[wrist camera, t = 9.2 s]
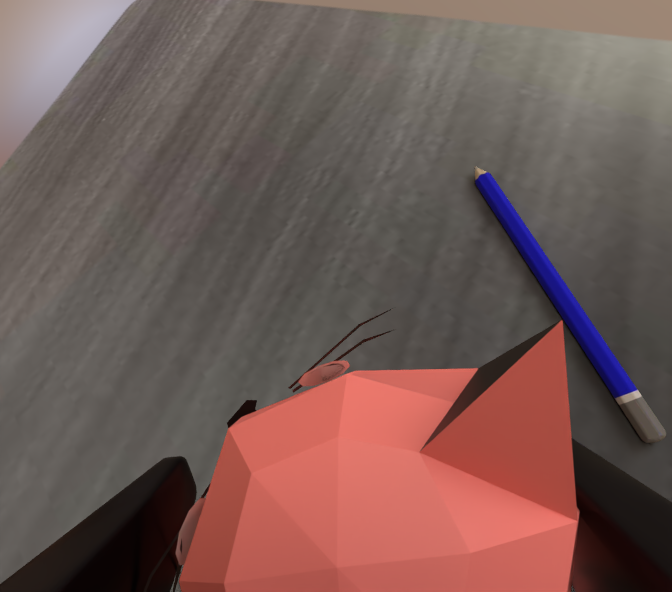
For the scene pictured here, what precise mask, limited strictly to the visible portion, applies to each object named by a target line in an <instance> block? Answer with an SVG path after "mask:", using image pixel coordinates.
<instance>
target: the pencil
mask: <svg viewBox="0 0 672 592" xmlns="http://www.w3.org/2000/svg"><path fill="white" fill-rule="evenodd" d="M474 169H475V184H476V185H477V187H478V188H479V190H480V192H481V193H482V195H483V196H484V198H485V199H486V201H487V202H488V204H489V205H490V207H491V208H492V210H493V212H494V213H495V215H496V216H497V218H498V219H499V221H500V222H501V224H502V225H503V227H504V228H505V230H506V232H507V233H508V235H509V236H510V238H511V239H512V241H513V242H514V244H515V245H516V247H517V248H518V250H519V252H520V253H521V255H522V256H523V258H524V259H525V261H526V262H527V264H528V265H529V267H530V269H531V270H532V272H533V273H534V275H535V276H536V278H537V279H538V281H539V282H540V284H541V285H542V287H543V289H544V290H545V292H546V293H547V295H548V296H549V298H550V299H551V301H552V302H553V304H554V305H555V307H556V309H557V310H558V312H559V313H560V315H561V316H562V318H563V319H564V321H565V322H566V324H567V325H568V327H569V329H570V330H571V332H572V333H573V335H574V336H575V338H576V339H577V341H578V342H579V344H580V345H581V347H582V349H583V350H584V352H585V353H586V355H587V356H588V358H589V359H590V361H591V362H592V364H593V365H594V367H595V369H596V370H597V372H598V373H599V375H600V376H601V378H602V379H603V381H604V382H605V384H606V385H607V387H608V389H609V390H610V392H611V393H612V395H613V396H614V398H615V400H616V401H617V403H618V404H619V406H620V407H621V409H622V410H623V412H624V413H625V415H626V416H627V418H628V419H629V421H630V422H631V424H632V426H633V427H634V429H635V430H636V432H637V433H638V435H639V436H640V438H641V439H642V440H643V441H644V442H647V443H655V442H658V441H661V440H662V439H664V438H665V437H666V431H665V430H664V428H663V427H662V425H661V424H660V422H659V421H658V419H657V418H656V416H655V415H654V413H653V412H652V410H651V409H650V408H649V406H648V405H647V403H646V402H645V400H644V399H643V397H642V396H641V394H640V393H639V391H638V390H637V388H636V387H635V385H634V384H633V383H632V381H631V380H630V378H629V377H628V375H627V374H626V372H625V371H624V369H623V368H622V366H621V365H620V363H619V362H618V360H617V359H616V358H615V356H614V355H613V353H612V352H611V350H610V349H609V347H608V346H607V344H606V343H605V341H604V340H603V338H602V337H601V335H600V334H599V333H598V331H597V330H596V328H595V327H594V325H593V324H592V322H591V321H590V319H589V318H588V316H587V315H586V313H585V312H584V310H583V309H582V308H581V306H580V305H579V303H578V302H577V300H576V299H575V297H574V296H573V294H572V293H571V291H570V290H569V288H568V287H567V286H566V284H565V283H564V281H563V280H562V278H561V277H560V275H559V274H558V272H557V271H556V269H555V268H554V266H553V265H552V263H551V262H550V261H549V259H548V258H547V256H546V255H545V253H544V252H543V250H542V249H541V247H540V246H539V244H538V243H537V241H536V240H535V238H534V237H533V236H532V234H531V233H530V231H529V230H528V228H527V227H526V225H525V224H524V222H523V221H522V219H521V218H520V216H519V215H518V213H517V212H516V211H515V209H514V208H513V206H512V205H511V203H510V202H509V200H508V199H507V197H506V196H505V194H504V193H503V191H502V190H501V189H500V187H499V186H498V184H497V183H496V181H495V180H494V178H493V177H492V175H491V174H490V173H488V172H486V171H483V170H481V169H479V168H477V167H476V166H475V167H474Z"/></svg>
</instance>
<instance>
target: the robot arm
mask: <svg viewBox="0 0 672 592" xmlns="http://www.w3.org/2000/svg"><path fill="white" fill-rule="evenodd" d="M571 439H572V438H571ZM572 452H573V465H574V478H575V491H576V505H577V508H578V509H579V511H580V512H579V522H578V531H577V541H576V550H575V559H574V568H573V577H572V585H573V587H574V590H575V592H672V502H670V501H669V500H667V499H666V498H664V497H663V496H661V495H659V494H658V493H656V492H655V491H653V490H652V489H650V488H649V487H647V486H645V485H644V484H642V483H641V482H639V481H638V480H636V479H634V478H633V477H631V476H630V475H628V474H627V473H625V472H624V471H622V470H620V469H619V468H617V467H616V466H614V465H613V464H611V463H610V462H608V461H606V460H605V459H603V458H602V457H600V456H599V455H597V454H596V453H594V452H592V451H591V450H589V449H588V448H586V447H585V446H583V445H582V444H580V443H578V442H577V441H575V440H574V439H572ZM195 499H196V484H195V481H194V479H193V476H192V473H191V471H190V468H189V465H188V462H187V460H186V459H185V458H184V457H181V456H178V457H168V458H164V459H162V460H161V461H160V462H158V463H157V464H156V465H154V466H153V467H152V468H151V469H149V470H148V471H147V472H145V473H144V474H143V475H142V476H140V477H139V478H138V479H136V480H135V481H134V482H132V483H131V484H130V485H129V486H127V487H126V488H125V489H123V490H122V491H121V492H119V493H118V494H117V495H116V496H114V497H113V498H112V499H110V500H109V501H108V502H106V503H105V504H104V505H103V506H101V507H100V508H99V509H97V510H96V511H95V512H93V513H92V514H91V515H90V516H88V517H87V518H86V519H84V520H83V521H82V522H80V523H79V524H78V525H77V526H75V527H74V528H73V529H71V530H70V531H69V532H67V533H66V534H65V535H64V536H62V537H61V538H60V539H58V540H57V541H56V542H54V543H53V544H52V545H51V546H49V547H48V548H47V549H45V550H44V551H43V552H41V553H40V554H39V555H38V556H36V557H35V558H34V559H32V560H31V561H30V562H28V563H27V564H26V565H25V566H23V567H22V568H21V569H19V570H18V571H17V572H15V573H14V574H13V575H12V576H10V577H9V578H8V579H6V580H5V581H4V582H3V583H1V584H0V592H144V589H145V586H146V583H147V581H148V578H149V576H150V574H151V573H152V571H153V570H154V568H155V567H156V565H157V564H158V562H159V561H160V559H161V557H162V556H163V554H164V553H165V551H166V550H167V548H168V547H169V545H170V544H171V542H172V541H173V539H174V538H175V536H176V535H177V533H178V532H179V530H180V529H181V527H182V525H183V523H184V521H185V518H186V516H187V514H188V512H189V510H190V509H191V508H192V507H193V506H194V503H195ZM178 537H179V536H178ZM177 543H178V538H177V539H176V541H175V542H174V544H173V545H172V547H171V548H170V550H169V551H168V553H167V555H166V556H165V558H164V559H163V561H162V562H161V564H160V565H159V567H158V568H157V570H156V571H155V573H154V574H153V576H152V578H151V581H150V583H149V585H148V588H147V590H146V592H170V590H171V587H172V584H173V581H174V578H175V575H176V572H177V568H178V565H179V562H178V559H177V556H176V549H177Z"/></svg>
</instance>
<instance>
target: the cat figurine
mask: <svg viewBox="0 0 672 592" xmlns="http://www.w3.org/2000/svg"><path fill="white" fill-rule="evenodd" d="M388 311H389V310H388ZM388 311H386V312H388ZM386 312H384V313H386ZM384 313H382V314H384ZM382 314H380V315H382ZM380 315H378V316H380ZM378 316H376V317H378ZM376 317H374V318H376ZM374 318H372V319H374ZM372 319H369V320H367V321H365V322H363V323H361V324H359V325H358V326H357V327H356V328H354V329H353V330H352V331H351V332H350V333H349V334H348V335H347V336H346V337H344V338H343V339H342V340H341V341H340V342H339V343H338V344H337V345H336V346H334V347H333V348H332V349H331V350H330V351H329V352H328V353H327V354H325V355H324V356H323V357H322V358H321V359H320V360H319V361H318V362H317V363H315V364H314V365H313V366H312V367H311V368H310V369H309V370H308V371H307V372H305V373H304V374H303V375H302V376H301V377H300V378H299V379H298V380H297V381H295V382H294V383H293V384H292V385H291V386H290V387H289V388H290V389H291V388H292V387H293V386H294V385H295V384H296V383H297V382H299V383H300V384H301V385H299V386H298V387H297V388H295V389H294V390H293V393H294V392H295V391H296V390H298V389H299V388H301V387H302V386H315V385H318V384H321V383H324V382H327V381H329V382H327V383H324V384H322V385H319V386H317V387H314V388H312V389H309V390H307V391H304V392H302V393H299V394H297V395H295V396H292V397H290V398H287V399H285V400H282V401H280V402H277V403H275V404H272V405H270V406H267V407H265V408H262V409H260V410H258V411H256V410H255V407H256V402H257V400H247V401H246V402H245V403H244V404H243V405H242V406H241V407H240V409H239V410H238V411H237V412H236V413H235V414H234V416H233V417H232V418H231V419H230V420H229V421H228V422H227V424H228V428H229V429H228V432H227V435H226V438H225V441H224V444H223V447H222V450H221V453H220V456H219V459H218V462H217V465H216V468H215V472H214V475H213V478H212V481H211V483H210V484H209V486H208V487H207V489H206V490H205V492H204V494H203V495H202V497H201V498H200V499H199V500H198V501H197V502H196V503H195V504H194V506H193V507H192V508H191V509H190V510H189V512H188V514H187V516H186V518H185V521H184V523H183V525H182V527H181V529H180V530H179V532H178V533H177V535H176V536H175V538H174V539H173V541H172V542H171V544H170V545H169V547H168V548H167V550H166V551H165V553H164V554H163V556H162V557H161V559H160V561H159V562H158V564H157V565H156V567H155V568H154V570H153V571H152V573H151V574H150V576H149V578H148V581H147V583H146V586H145V589H144V592H146V590H147V588H148V585H149V583H150V581H151V578H152V576H153V574H154V573H155V571H156V570H157V568H158V567H159V565H160V564H161V562H162V561H163V559H164V558H165V556H166V555H167V553H168V551H169V550H170V548H171V547H172V545H173V544H174V542H175V541H176V539H177V538H178V543H177V549H176V556H177V559H178V562H179V565H178V568H177V573H176V578H175V583H174V588H173V592H175V588H176V585H177V581H178V577H179V574H180V570H181V567H182V565H183V564H184V567H183V570H182V573H181V576H180V579H179V583H180V587H181V591H182V592H571V586H572V577H573V568H574V559H575V550H576V541H577V531H578V522H579V512H580V511H579V509H578V508H577V505H576V491H575V478H574V465H573V452H572V439H571V425H570V412H569V399H568V386H567V372H566V359H565V346H564V333H563V320H561V321H559V322H557V323H556V324H554V325H552V326H550V327H549V328H547V329H545V330H544V331H542V332H540V333H538V334H537V335H535V336H533V337H532V338H530V339H528V340H526V341H525V342H523V343H521V344H520V345H518V346H516V347H514V348H513V349H511V350H509V351H508V352H506V353H504V354H502V355H501V356H499V357H497V358H496V359H494V360H492V361H490V362H489V363H487V364H485V365H484V366H482V367H480V368H475V369H425V370H376V371H354V372H351V373H348V374H345V375H343V376H341V377H339V378H337V379H334V378H336V377H337V376H339V375H341V374H343V373H344V372H345V371H346V369H347V368H348V367H349V364H348V362H347V361H338V360H340V359H341V358H342V357H344V356H345V355H347V354H348V353H349V352H351V351H352V350H354V349H355V348H356V347H358V346H359V345H361V344H362V343H364V342H366V341H368V340H371V339H373V338H376V337H378V336H381V335H383V334H386V333H388V332H386V333H383V334H380V335H377V336H373V337H370V338H367V339H364V340H362V341H361V342H360V343H358V344H357V345H355V346H354V347H353V348H351V349H350V350H348V351H347V352H346V353H344V354H343V355H341V356H340V357H339V358H337V359H336V360H334V361H333V362H330V363H326V364H323V365H320V366H317V367H316V368H314V367H315V366H316V365H317V364H318V363H320V362H321V361H322V360H323V359H324V358H325V357H326V356H327V355H328V354H330V353H331V352H332V351H333V350H334V349H335V348H336V347H337V346H338V345H340V344H341V343H342V342H343V341H344V340H345V339H346V338H347V337H349V336H350V335H351V334H352V333H353V332H354V331H355V330H356V329H357V328H359V327H360V326H361V325H363V324H365V323H367V322H369V321H371V320H372ZM392 331H393V330H392ZM389 332H391V331H389ZM313 368H314V369H313ZM332 379H334V380H332ZM330 380H332V381H330ZM207 492H208V493H207ZM206 493H207V496H206V498H204V496H205V495H206ZM178 536H179V537H178Z"/></svg>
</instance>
